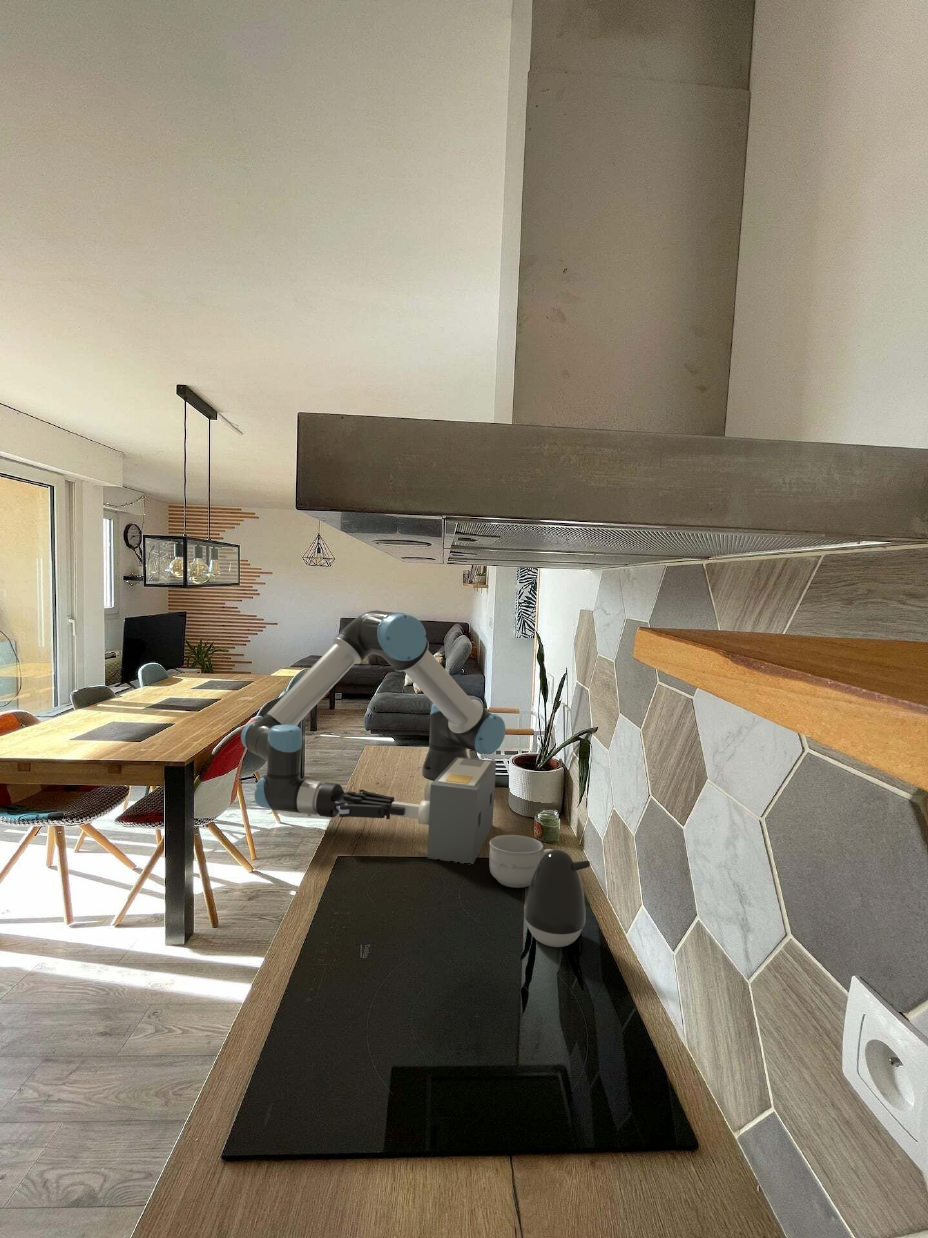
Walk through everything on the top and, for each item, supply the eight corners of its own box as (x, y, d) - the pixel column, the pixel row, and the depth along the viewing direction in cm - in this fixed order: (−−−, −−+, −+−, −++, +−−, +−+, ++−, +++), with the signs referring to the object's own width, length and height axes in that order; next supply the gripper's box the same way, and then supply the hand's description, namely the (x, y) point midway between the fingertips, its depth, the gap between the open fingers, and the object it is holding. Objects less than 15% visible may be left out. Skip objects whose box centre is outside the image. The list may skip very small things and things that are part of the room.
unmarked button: (429, 798, 161) (430, 778, 161) (458, 802, 160) (459, 782, 160) (423, 805, 157) (424, 784, 156) (454, 809, 155) (455, 788, 155)
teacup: (478, 884, 129) (480, 844, 128) (501, 865, 138) (503, 828, 138) (544, 903, 122) (547, 862, 122) (563, 881, 132) (566, 843, 131)
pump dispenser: (579, 962, 103) (585, 868, 103) (516, 946, 107) (521, 856, 106) (589, 931, 113) (595, 845, 112) (531, 918, 116) (536, 834, 116)
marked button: (423, 819, 147) (424, 797, 147) (456, 823, 146) (457, 801, 145) (417, 826, 142) (418, 804, 142) (450, 831, 141) (451, 808, 140)
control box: (453, 820, 163) (456, 754, 162) (492, 825, 161) (496, 759, 160) (427, 858, 140) (431, 782, 139) (472, 864, 137) (477, 787, 137)
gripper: (332, 806, 156) (427, 818, 151) (308, 824, 144) (410, 839, 139) (334, 775, 156) (429, 786, 151) (309, 791, 143) (412, 804, 138)
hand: (420, 811), depth 145 cm, fingers closed
